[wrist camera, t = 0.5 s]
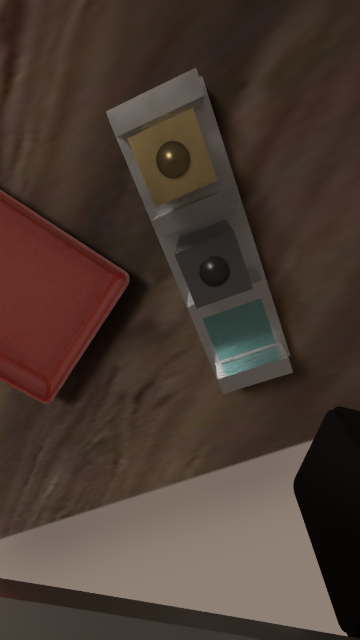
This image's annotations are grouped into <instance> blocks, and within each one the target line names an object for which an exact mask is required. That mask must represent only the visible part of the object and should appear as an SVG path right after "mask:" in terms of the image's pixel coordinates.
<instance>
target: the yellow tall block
mask: <svg viewBox="0 0 360 640" xmlns="http://www.w3.org/2000/svg"><path fill="white" fill-rule="evenodd" d="M127 139H128V141H129V144H130V146H131V149H132V151H133V154H134V156H135V158H136V161H137V163H138V166H139V168H140V171H141V173H142V176H143V178H144V181H145V183H146V186H147V188H148V191H149V193H150V195H151V198H152V200H153V203H154V205H155V207H156V206H159V205H161V204H163V203H166V202H168V201H170V200H173V199H175V198H178V197H180V196H182V195H185V194H187V193H189V192H192V191H194V190H197V189H199V188H201V187H204V186H206V185H208V184H211V183H213V182H215V181H217V178H216V175H215V172H214V169H213V166H212V163H211V160H210V157H209V154H208V151H207V148H206V145H205V142H204V139H203V136H202V133H201V130H200V127H199V124H198V121H197V118H196V115H195V112H194V109H193V108H191V109H189V110H187V111H185V112H183V113H181V114H179V115H177V116H174V117H172V118H170V119H168V120H166V121H164V122H162V123H159V124H157V125H155V126H153V127H151V128H149V129H147V130H145V131H142V132H140V133H138V134H136V135H134V136H132V137H130V138H127Z"/></svg>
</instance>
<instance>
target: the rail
mask: <svg viewBox="0 0 360 640" xmlns="http://www.w3.org/2000/svg"><path fill="white" fill-rule="evenodd" d="M191 108H193V109H194V112H195V115H196V118H197V121H198V124H199V127H200V130H201V133H202V136H203V139H204V142H205V145H206V148H207V151H208V154H209V157H210V160H211V163H212V166H213V169H214V172H215V175H216V178H217V181H215V182H213V183H211V184H208V185H206V186H204V187H201V188H199V189H197V190H194V191H192V192H189V193H187V194H185V195H182V196H180V197H178V198H175V199H173V200H170V201H168V202H166V203H163V204H161V205H159V206H156V207H155V205H154V203H153V200H152V198H151V195H150V193H149V191H148V188H147V186H146V183H145V181H144V178H143V176H142V173H141V171H140V168H139V166H138V163H137V161H136V158H135V156H134V154H133V151H132V149H131V146H130V144H129V141H128V139H127V138H130V137H132V136H134V135H136V134H138V133H140V132H142V131H145V130H147V129H149V128H151V127H153V126H155V125H157V124H159V123H162V122H164V121H166V120H168V119H170V118H172V117H174V116H177V115H179V114H181V113H183V112H185V111H187V110H189V109H191ZM106 113H107V116H108V118H109V120H110V124H111V126H112V129H113V131H114V133H115V136H116V138H117V141H118V143H119V145H120V148H121V150H122V153H123V155H124V157H125V160H126V162H127V165H128V167H129V169H130V172H131V174H132V177H133V179H134V181H135V184H136V186H137V189H138V191H139V193H140V196H141V198H142V201H143V203H144V205H145V208H146V210H147V213H148V215H149V217H150V220H151V222H152V225H153V227H154V229H155V232H156V234H157V237H158V239H159V241H160V244H161V246H162V249H163V251H164V253H165V256H166V258H167V261H168V263H169V265H170V268H171V270H172V273H173V275H174V277H175V280H176V282H177V285H178V287H179V289H180V292H181V294H182V297H183V299H184V301H185V304H186V306H187V309H188V311H189V313H190V316H191V318H192V321H193V323H194V326H195V328H196V330H197V333H198V335H199V338H200V340H201V342H202V345H203V347H204V350H205V352H206V354H207V357H208V359H209V362H210V364H211V366H212V369H213V371H214V374H215V376H216V378H217V380H218V382H219V385H220V387H221V390H222V392H223V394H224V393H228V392H231V391H234V390H237V389H241V388H244V387H247V386H250V385H254V384H257V383H260V382H264V381H267V380H270V379H273V378H277V377H280V376H283V375H287V374H290V373H293V370H292V367H291V364H290V361H289V358H288V356H290V353H289V350H288V347H287V343H286V340H285V337H284V334H283V331H282V328H281V324H280V321H279V318H278V315H277V312H276V309H275V305H274V302H273V299H272V296H271V293H270V290H269V286H268V283H267V280H266V277H265V274H264V271H263V267H262V264H261V261H260V258H259V255H258V252H257V248H256V245H255V242H254V239H253V236H252V233H251V229H250V226H249V223H248V220H247V217H246V214H245V210H244V207H243V204H242V201H241V198H240V195H239V191H238V188H237V185H236V182H235V179H234V176H233V172H232V169H231V166H230V163H229V160H228V157H227V153H226V150H225V147H224V144H223V141H222V138H221V134H220V131H219V128H218V125H217V122H216V119H215V115H214V112H213V109H212V106H211V103H210V100H209V96H208V93H207V90H206V87H205V84H204V81H203V77H202V76H201V77H199V75H198V72H197V69H196V68H194V69H192V70H190V71H188V72H186V73H184V74H182V75H180V76H178V77H176V78H174V79H172V80H170V81H168V82H166V83H164V84H162V85H159V86H157V87H155V88H153V89H151V90H149V91H147V92H145V93H143V94H141V95H139V96H137V97H135V98H133V99H131V100H129V101H127V102H125V103H123V104H121V105H119V106H117V107H115V108H113V109H110V110H108V111H106ZM225 219H226V220H227V222H228V223H229V224H230V226H231V227H232V229H233V230H234V232H235V235H236V238H237V241H238V244H239V247H240V250H241V253H242V256H243V259H244V262H245V265H246V268H247V271H248V274H249V277H250V280H251V283H252V286H253V289H251V290H248V291H245V292H242V293H240V294H237V295H234V296H231V297H228V298H225V299H223V300H220V301H217V302H214V303H211V304H209V305H206V306H203V307H200V308H197V309H196V306H195V304H194V301H193V299H192V296H191V294H190V291H189V289H188V287H187V284H186V282H185V279H184V277H183V274H182V272H181V269H180V267H179V264H178V262H177V259H176V257H175V255H174V254H175V250H176V246H177V243H178V239H179V238H180V237H183V236H185V235H188V234H190V233H193V232H195V231H198V230H200V229H203V228H205V227H208V226H210V225H213V224H215V223H218V222H220V221H223V220H225Z"/></svg>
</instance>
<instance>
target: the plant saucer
mask: <svg viewBox="0 0 360 640" xmlns="http://www.w3.org/2000/svg"><path fill="white" fill-rule="evenodd" d="M129 281H130V277H129V274H128V273H127V272H126V271H124V270H122V269H121V268H120V267H118V266H116V265H115V264H113V263H112V262H110V261H109V260H107V259H106V258H104V257H103V256H101V255H99V254H98V253H96V252H95V251H93V250H92V249H90V248H89V247H87V246H86V245H84V244H83V243H81V242H80V241H78V240H76V239H75V238H73V237H72V236H70V235H69V234H67V233H66V232H64V231H63V230H61V229H60V228H58V227H57V226H55V225H54V224H52V223H51V222H49V221H47V220H46V219H44V218H43V217H41V216H40V215H39V214H37V213H35V212H34V211H32V210H31V209H29V208H28V207H26V206H25V205H23V204H22V203H20V202H19V201H17V200H16V199H14V198H12V197H11V196H9V195H8V194H6V193H5V192H3V191H2V190H0V381H2V382H4V383H6V384H8V385H10V386H12V387H13V388H15V389H17V390H19V391H21V392H23V393H25V394H27V395H28V396H30V397H32V398H34V399H36V400H38V401H39V402H41V403H44V404H48V403H51V402H52V401H53V400H54V398H55V396H56V395H57V393H58V392H59V390H60V389H61V387H62V386H63V384H64V383H65V381H66V380H67V378H68V376H69V375H70V373H71V372H72V370H73V369H74V367H75V366H76V364H77V363H78V361H79V359H80V358H81V356H82V355H83V353H84V352H85V350H86V349H87V347H88V346H89V344H90V343H91V341H92V339H93V338H94V337H95V335H96V333H97V332H98V330H99V329H100V327H101V326H102V324H103V323H104V321H105V320H106V318H107V317H108V315H109V314H110V312H111V310H112V309H113V308H114V306H115V304H116V303H117V301H118V300H119V298H120V297H121V296H122V294H123V292H124V291H125V289H126V288H127V286H128V284H129Z"/></svg>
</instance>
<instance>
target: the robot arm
mask: <svg viewBox="0 0 360 640" xmlns="http://www.w3.org/2000/svg"><path fill="white" fill-rule="evenodd" d="M294 493H295V496H296V499H297V502H298V505H299V508H300V511H301V513H302V516H303V520H304V523H305V525H306V529H307V532H308V534H309V537H310V540H311V543H312V546H313V549H314V552H315V555H316V558H317V561H318V564H319V567H320V570H321V573H322V576H323V579H324V582H325V585H326V588H327V591H328V594H329V596H330V600H331V603H332V605H333V608H334V611H335V615H336V617H337V620H338V623H339V625H340V627H341V629H342V630H343V631H344V632H346V633H347V635H348V637H347V636H341V635H336V634H329V633H324V632H317V631H313V630H307V629H301V628H295V627H290V626H284V625H278V624H272V623H267V622H261V621H255V620H249V619H243V618H237V617H232V616H226V615H220V614H214V613H208V612H202V611H196V610H190V609H184V608H178V607H173V606H167V605H161V604H154V603H149V602H142V601H137V600H131V599H125V598H118V597H113V596H106V595H100V594H95V593H89V592H82V591H77V590H71V589H64V588H58V587H52V586H46V585H40V584H33V583H27V582H21V581H15V580H9V579H2V578H0V640H360V411H357V410H353V409H348V408H344V407H339V406H338V407H336V408H334V409H333V410H329V411H328V412H327V414H326V415H325V417H324V420H323V422H322V424H321V426H320V428H319V430H318V432H317V434H316V436H315V438H314V440H313V442H312V444H311V446H310V449H309V450H308V452H307V454H306V456H305V459H304V461H303V463H302V465H301V467H300V469H299V471H298V473H297V475H296V477H295V479H294Z"/></svg>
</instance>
